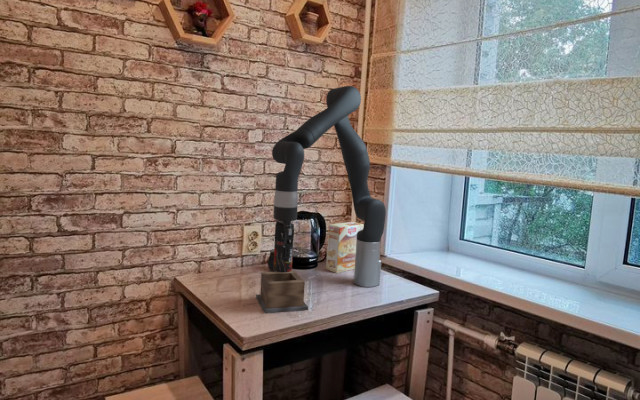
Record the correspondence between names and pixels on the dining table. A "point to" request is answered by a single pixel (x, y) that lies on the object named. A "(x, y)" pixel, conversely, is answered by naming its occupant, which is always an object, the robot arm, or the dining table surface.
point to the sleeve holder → (281, 292)
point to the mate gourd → (271, 260)
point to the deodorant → (281, 251)
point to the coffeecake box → (342, 246)
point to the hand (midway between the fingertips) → (283, 255)
